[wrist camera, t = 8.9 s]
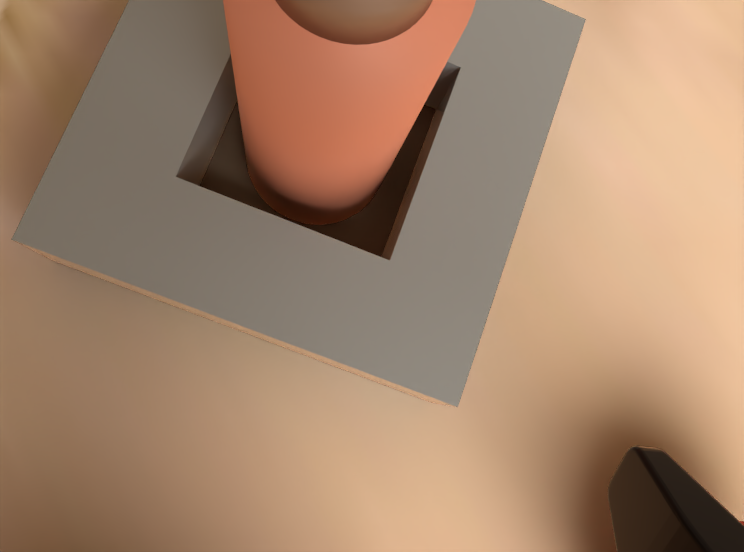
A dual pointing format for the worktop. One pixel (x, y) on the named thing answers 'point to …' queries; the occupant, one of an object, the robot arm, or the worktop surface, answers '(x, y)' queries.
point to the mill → (333, 93)
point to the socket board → (284, 238)
